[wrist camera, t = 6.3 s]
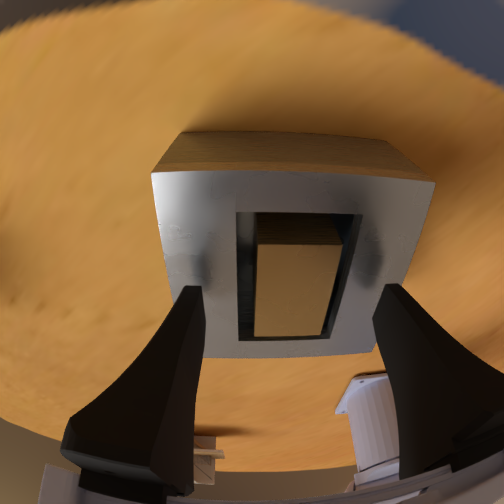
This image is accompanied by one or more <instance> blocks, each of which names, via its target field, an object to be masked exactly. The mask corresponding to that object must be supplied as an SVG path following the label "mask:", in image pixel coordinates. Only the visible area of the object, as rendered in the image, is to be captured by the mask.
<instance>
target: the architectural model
mask: <svg viewBox="0 0 504 504" xmlns="http://www.w3.org/2000/svg"><path fill="white" fill-rule="evenodd" d="M215 459H225V456H224V452H223V450H216V437H209V436H194V483H198V484H214V482H215V481H214V480H215Z"/></svg>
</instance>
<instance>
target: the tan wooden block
mask: <svg viewBox="0 0 504 504" xmlns="http://www.w3.org/2000/svg"><path fill="white" fill-rule="evenodd" d="M342 247H343V245H342V242H341V240H340V238H339V235H338V233H337V231H336V228H335V226H334V224H333V221H332V219H331V217H330V215H329V213H300V212H254V228H253V263H252V269H253V306H254V336H309V335H320V333H321V330H322V326H323V323H324V319H325V315H326V312H327V308H328V304H329V300H330V297H331V293H332V289H333V285H334V281H335V277H336V273H337V268H338V264H339V260H340V256H341V251H342Z"/></svg>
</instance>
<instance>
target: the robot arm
mask: <svg viewBox="0 0 504 504" xmlns="http://www.w3.org/2000/svg"><path fill="white" fill-rule="evenodd" d="M372 321H373V327H374V332H375V336H376V341H377V344H378V347H379V350H380V353H381V356H382V359H383V362H384V365H385V368H386V371H387V373H382V374H374V375H366V376H358V377H354V378H353V379H352V380H351V382H350V384H349V386H348V388H347V390H346V392H345V393H344V395H343V397H342V399H341V401H340V402H339V404H338V406H337V408H336V409H335V413H336V414H344V413H348V417H349V422H350V428H351V433H352V439H353V444H354V450H355V456H356V462H357V467H358V473H357V474H354V479H355V481H351V482H350V483H349V485H348V487H347V488H346V490H345V493H339V494H333V495H326V496H318V497H310V498H300V499H289V500H288V499H287V500H270V501H220V500H202V499H191V498H181V497H185V496H188V495H189V494H191V493H192V492H193V491H194V420H195V402H196V394H197V388H198V382H199V376H200V370H201V364H202V359H203V353H204V347H205V334H206V317H205V309H204V301H203V293H202V286H197V285H185V286H184V287H183V289H182V291H181V293H180V294H179V296H178V298H177V300H176V302H175V303H174V305H173V307H172V309H171V310H170V312H169V314H168V315H167V317H166V318H165V320H164V321H163V323H162V324H161V326H160V327H159V329H158V330H157V332H156V333H155V335H154V336H153V337H152V339H151V340H150V341H149V343H148V344H147V346H146V347H145V348H144V349H143V351H142V352H141V353H140V354H139V356H138V357H137V358H136V359H135V360H134V361H133V363H132V364H131V365H130V366H129V367H128V368H127V369H126V370H125V371H124V372H123V373H122V374H121V376H120V377H119V378H118V379H117V380H116V381H115V382H113V383H112V384H111V385H110V386H109V387H108V388H107V389H106V390H105V391H103V392H102V393H101V394H100V395H99V396H98V397H97V398H96V399H94V400H93V401H92V402H91V403H89V404H88V405H87V406H85V407H84V408H83V409H81V410H80V411H78V412H77V413H76V414H74V415H73V416H72V417H70V419H69V421H68V424H67V426H66V429H65V432H64V436H63V440H62V444H61V448H60V452H61V454H62V455H63V456H64V457H65V458H66V459H68V460H69V461H71V462H73V463H74V464H76V465H77V466H79V467H80V468H82V470H81V474H80V475H79V474H77V473H75V472H71V471H69V470H66V469H63V468H60V467H57V466H54V465H51V464H48V463H47V464H46V466H45V470H44V474H43V479H42V484H41V489H40V494H39V500H38V504H493V503H495V502H496V501H498V500H499V499H501V498H502V497H504V374H503V373H502V372H500V371H498V370H497V369H495V368H493V367H492V366H490V365H488V364H487V363H485V362H484V361H482V360H481V359H480V358H478V357H477V356H475V355H474V354H473V353H471V352H470V351H469V350H467V349H466V348H465V347H464V346H463V345H461V344H460V343H459V342H458V341H456V340H455V339H454V338H453V337H452V336H451V335H450V334H449V333H448V332H447V331H446V330H444V329H443V328H442V327H441V326H440V325H439V324H438V323H437V322H436V321H435V320H434V319H433V318H432V317H431V316H430V315H429V314H428V313H427V312H426V311H425V310H424V309H423V308H422V307H421V306H420V305H419V303H418V302H417V301H416V300H415V299H414V298H413V297H412V296H411V295H410V294H409V293H408V292H407V291H406V290H405V289H404V288H403V287H402V286H401V285H400V284H398V283H391V284H385V286H384V288H383V291H382V294H381V296H380V299H379V302H378V304H377V307H376V309H375V312H374V314H373V317H372ZM177 496H181V497H177Z"/></svg>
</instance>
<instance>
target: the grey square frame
mask: <svg viewBox="0 0 504 504" xmlns="http://www.w3.org/2000/svg"><path fill="white" fill-rule="evenodd" d="M151 178H152V185H153V192H154V199H155V206H156V212H157V219H158V225H159V231H160V237H161V242H162V248H163V253H164V259H165V264H166V269H167V274H168V279H169V284H170V289H171V294H172V298H173V303H175V302H176V300H177V298H178V296H179V294H180V293H181V291H182V289H183V287H184V286H185V285H197V286H202V293H203V301H204V309H205V317H206V334H205V347H204V353H203V358H293V357H315V356H331V355H345V354H357V353H367V352H372V350H373V348H374V346H375V344H376V342H377V341H376V336H375V332H374V327H373V321H372V317H373V314H374V312H375V309H376V307H377V304H378V302H379V299H380V296H381V294H382V291H383V288H384V286H385V284H391V283H398V284H400V285H402V283H403V280H404V278H405V275H406V273H407V270H408V268H409V265H410V262H411V260H412V257H413V254H414V251H415V249H416V246H417V243H418V240H419V237H420V234H421V231H422V228H423V225H424V222H425V219H426V215H427V212H428V209H429V206H430V202H431V199H432V195H433V192H434V188H435V184H436V182H435V181H433V180H432V179H431V178H430V177H429V176H428V175H427V174H426V173H424V172H423V171H422V170H421V169H420V168H419V167H417V166H416V165H415V164H414V163H413V162H412V161H410V160H409V159H408V158H407V157H405V156H404V155H403V154H402V153H401V152H399V151H398V150H397V149H395V148H394V147H393V146H392V145H390V144H389V143H388V142H387V141H382V140H374V139H365V138H356V137H346V136H335V135H323V134H308V133H289V132H252V131H228V132H191V133H180V134H179V135H178V136H177V138H176V139H175V140H174V142H173V143H172V144H171V146H170V147H169V148H168V150H167V151H166V152H165V154H164V155H163V156H162V158H161V159H160V161H159V162H158V163H157V165H156V166H155V168H154V169H153V170H152V172H151ZM254 212H300V213H329V215H330V217H331V219H332V221H333V224H334V226H335V228H336V231H337V233H338V235H339V238H340V240H341V242H342V245H343V247H342V251H341V256H340V260H339V264H338V268H337V273H336V277H335V281H334V285H333V289H332V293H331V297H330V300H329V304H328V308H327V312H326V315H325V319H324V323H323V326H322V330H321V333H320V335H309V336H254V306H253V269H252V263H253V228H254Z"/></svg>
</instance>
